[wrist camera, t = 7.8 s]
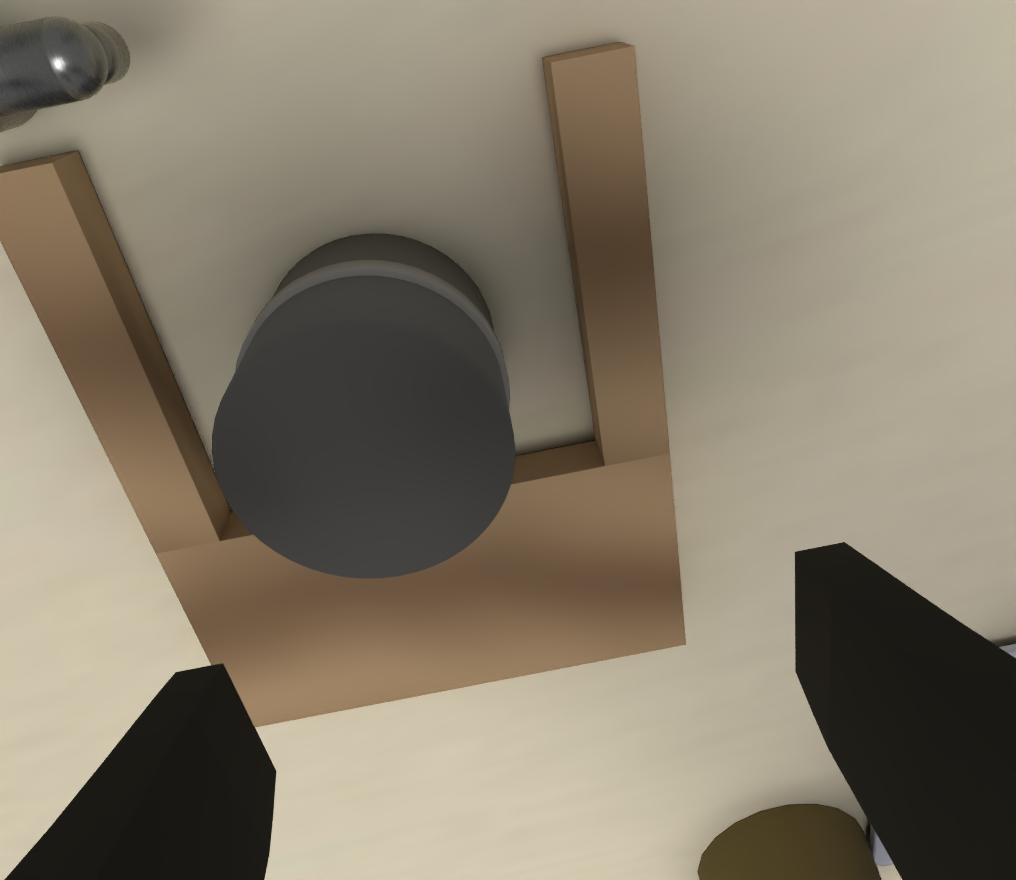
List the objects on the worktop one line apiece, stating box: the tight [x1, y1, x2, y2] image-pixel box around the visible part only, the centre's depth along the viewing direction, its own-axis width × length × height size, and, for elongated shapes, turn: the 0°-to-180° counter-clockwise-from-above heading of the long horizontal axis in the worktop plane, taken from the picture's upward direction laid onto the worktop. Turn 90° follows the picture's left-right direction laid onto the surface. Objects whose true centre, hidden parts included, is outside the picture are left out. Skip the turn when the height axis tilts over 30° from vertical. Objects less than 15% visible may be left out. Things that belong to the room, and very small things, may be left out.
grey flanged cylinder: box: [212, 234, 515, 579], centre depth 16 cm, size 5×5×5 cm
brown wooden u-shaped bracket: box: [0, 42, 686, 727], centre depth 18 cm, size 14×12×1 cm
